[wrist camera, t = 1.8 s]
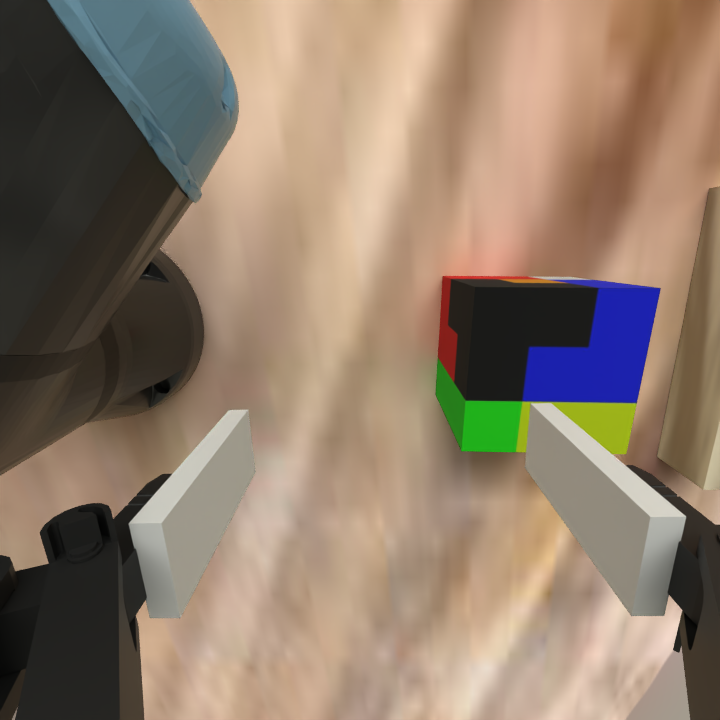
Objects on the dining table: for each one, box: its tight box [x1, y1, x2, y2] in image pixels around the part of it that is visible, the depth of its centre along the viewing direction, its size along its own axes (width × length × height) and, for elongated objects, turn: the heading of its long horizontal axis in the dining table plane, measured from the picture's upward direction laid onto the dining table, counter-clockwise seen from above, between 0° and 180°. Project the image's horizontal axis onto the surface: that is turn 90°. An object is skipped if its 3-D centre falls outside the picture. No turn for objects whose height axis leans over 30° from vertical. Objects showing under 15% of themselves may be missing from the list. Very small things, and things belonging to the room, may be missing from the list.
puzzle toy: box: [436, 276, 661, 454], centre depth 27 cm, size 10×10×10 cm
